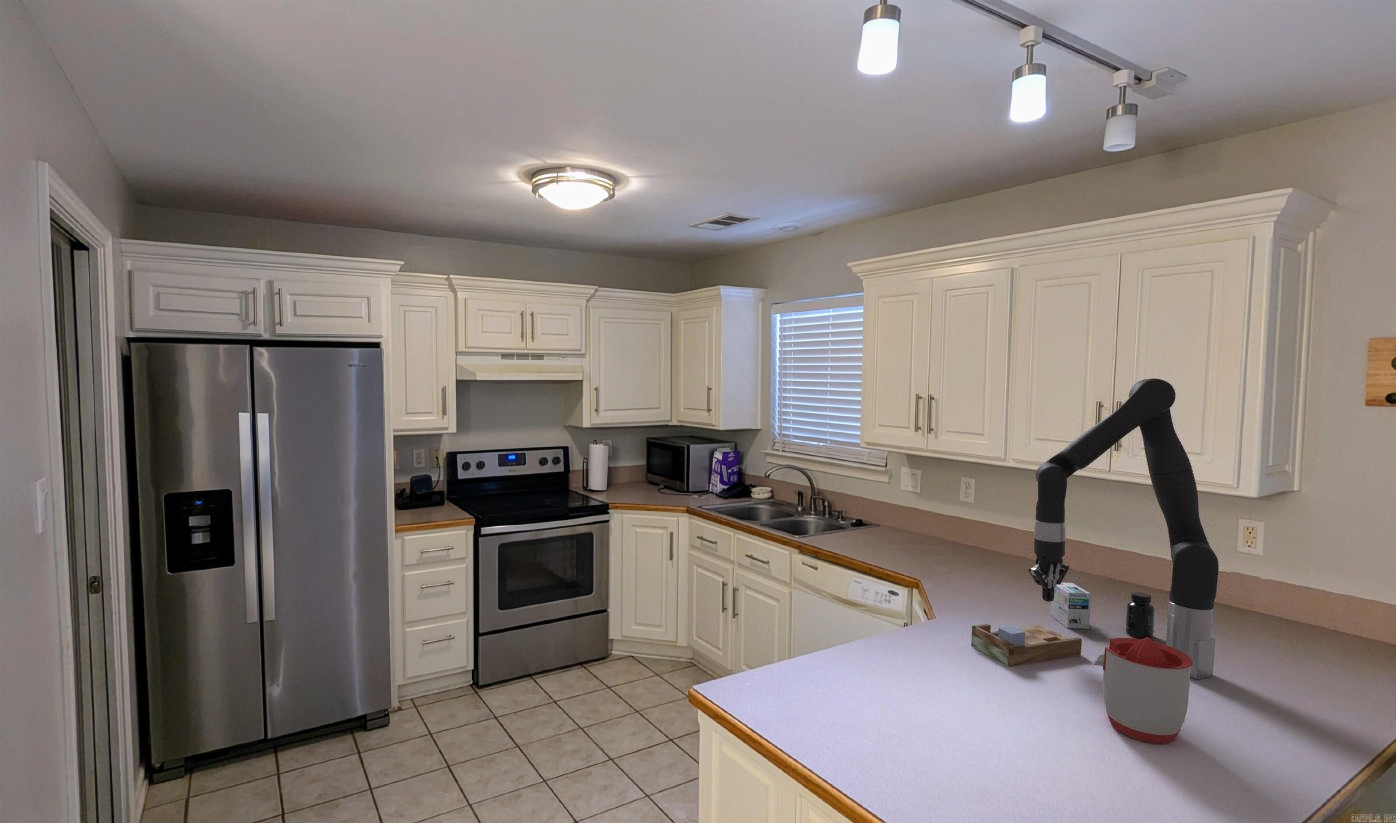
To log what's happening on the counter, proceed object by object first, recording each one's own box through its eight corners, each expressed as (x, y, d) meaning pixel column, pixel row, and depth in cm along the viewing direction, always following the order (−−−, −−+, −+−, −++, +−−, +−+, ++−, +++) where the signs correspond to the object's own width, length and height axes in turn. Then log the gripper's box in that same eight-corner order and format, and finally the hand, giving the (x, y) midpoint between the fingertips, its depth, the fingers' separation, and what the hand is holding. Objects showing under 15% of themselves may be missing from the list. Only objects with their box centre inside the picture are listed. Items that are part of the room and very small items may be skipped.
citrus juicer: (1097, 702, 159) (1102, 616, 157) (1190, 728, 148) (1197, 636, 146) (1083, 728, 146) (1088, 635, 145) (1183, 759, 135) (1190, 659, 134)
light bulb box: (1090, 629, 204) (1092, 593, 204) (1066, 628, 204) (1069, 592, 204) (1071, 616, 215) (1073, 582, 214) (1049, 615, 215) (1051, 581, 214)
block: (1024, 650, 179) (1025, 631, 179) (1010, 652, 178) (1011, 633, 177) (1010, 644, 183) (1011, 625, 183) (997, 646, 182) (998, 627, 182)
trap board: (1080, 654, 185) (1082, 634, 185) (1010, 666, 177) (1011, 645, 176) (1038, 635, 198) (1039, 616, 198) (971, 645, 190) (972, 625, 189)
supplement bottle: (1145, 631, 204) (1147, 591, 203) (1158, 640, 197) (1161, 598, 196) (1120, 629, 204) (1123, 589, 203) (1132, 638, 197) (1135, 597, 197)
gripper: (1043, 542, 182) (1041, 607, 183) (1079, 538, 187) (1077, 601, 188) (1020, 536, 189) (1018, 599, 190) (1055, 532, 194) (1054, 593, 195)
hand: (1048, 600), depth 189 cm, fingers closed
